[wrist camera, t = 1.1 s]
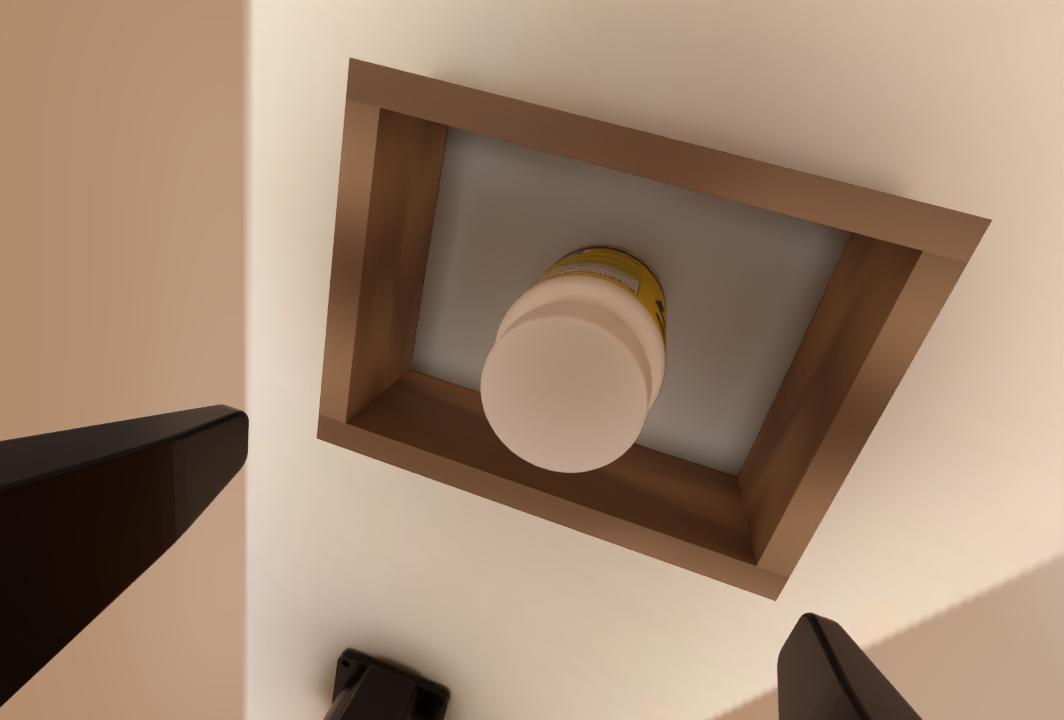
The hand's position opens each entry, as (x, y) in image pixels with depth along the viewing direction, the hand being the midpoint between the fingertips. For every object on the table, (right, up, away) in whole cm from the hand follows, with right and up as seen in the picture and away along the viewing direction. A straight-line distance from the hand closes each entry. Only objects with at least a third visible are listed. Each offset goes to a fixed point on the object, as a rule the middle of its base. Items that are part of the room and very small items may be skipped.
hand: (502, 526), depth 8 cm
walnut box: (+3, +5, +12) cm, 13 cm away
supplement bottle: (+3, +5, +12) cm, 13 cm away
